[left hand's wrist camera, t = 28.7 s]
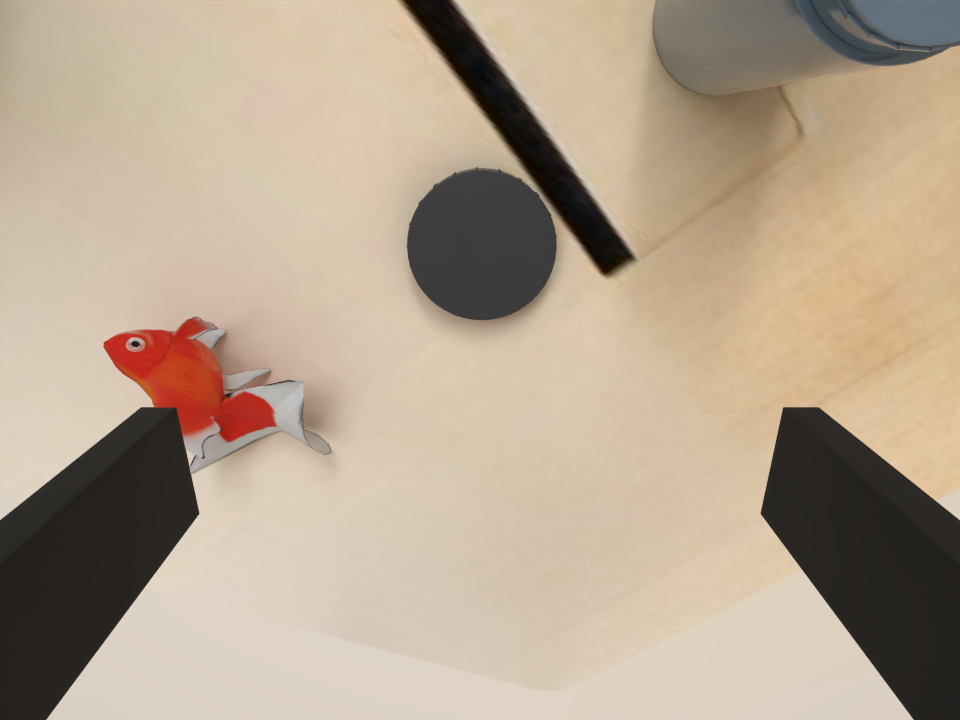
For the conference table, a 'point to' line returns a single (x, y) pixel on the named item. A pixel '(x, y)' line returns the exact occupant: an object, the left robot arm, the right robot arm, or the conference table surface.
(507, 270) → the lid
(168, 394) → the fish
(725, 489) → the conference table surface
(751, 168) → the conference table surface
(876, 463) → the left robot arm
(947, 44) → the jar
